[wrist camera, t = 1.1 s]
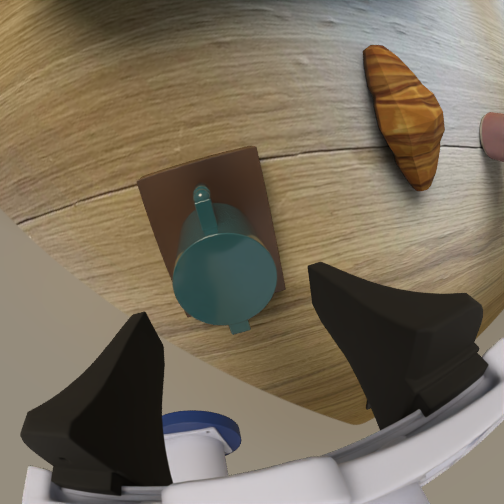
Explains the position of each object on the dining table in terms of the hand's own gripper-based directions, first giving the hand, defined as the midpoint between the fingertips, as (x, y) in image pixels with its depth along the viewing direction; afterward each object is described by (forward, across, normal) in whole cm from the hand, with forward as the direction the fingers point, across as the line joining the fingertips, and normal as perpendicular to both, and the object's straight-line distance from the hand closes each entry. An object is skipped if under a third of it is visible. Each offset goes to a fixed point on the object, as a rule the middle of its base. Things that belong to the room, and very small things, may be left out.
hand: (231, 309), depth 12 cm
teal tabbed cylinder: (+8, 0, 0) cm, 8 cm away
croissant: (+10, -17, -6) cm, 21 cm away
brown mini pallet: (+10, 0, 0) cm, 10 cm away
